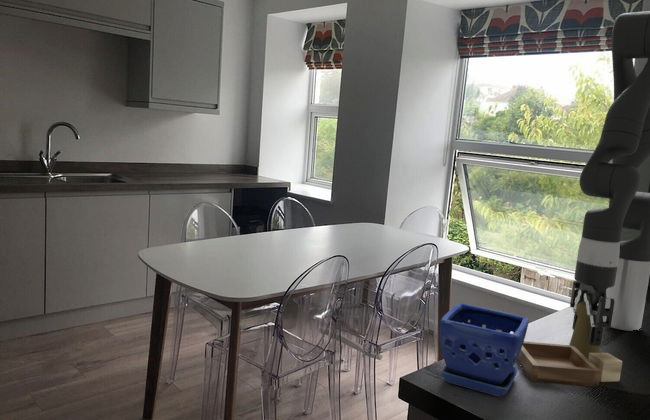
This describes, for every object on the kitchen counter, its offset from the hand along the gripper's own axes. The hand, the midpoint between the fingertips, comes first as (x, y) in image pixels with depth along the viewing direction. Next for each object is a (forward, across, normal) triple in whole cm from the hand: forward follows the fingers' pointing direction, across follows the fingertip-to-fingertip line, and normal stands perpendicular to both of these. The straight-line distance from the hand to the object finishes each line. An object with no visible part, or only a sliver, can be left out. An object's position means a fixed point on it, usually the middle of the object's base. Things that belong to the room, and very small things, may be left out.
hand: (585, 337), depth 113 cm
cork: (+4, 0, 0) cm, 4 cm away
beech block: (+4, -11, +1) cm, 12 cm away
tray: (+4, -10, +10) cm, 14 cm away
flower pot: (+4, -18, +26) cm, 32 cm away
